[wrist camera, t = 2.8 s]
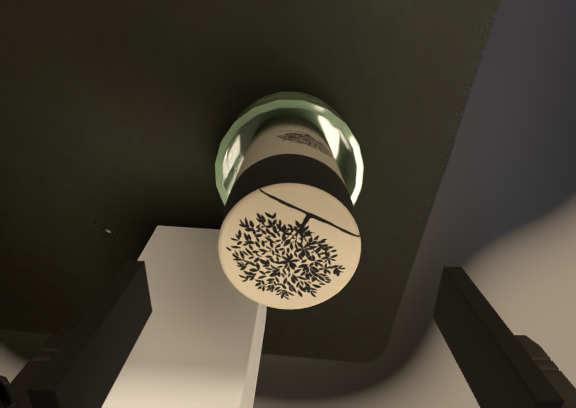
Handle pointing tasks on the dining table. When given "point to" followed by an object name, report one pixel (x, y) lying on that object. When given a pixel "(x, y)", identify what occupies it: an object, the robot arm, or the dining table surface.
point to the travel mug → (289, 219)
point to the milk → (191, 330)
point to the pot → (294, 106)
